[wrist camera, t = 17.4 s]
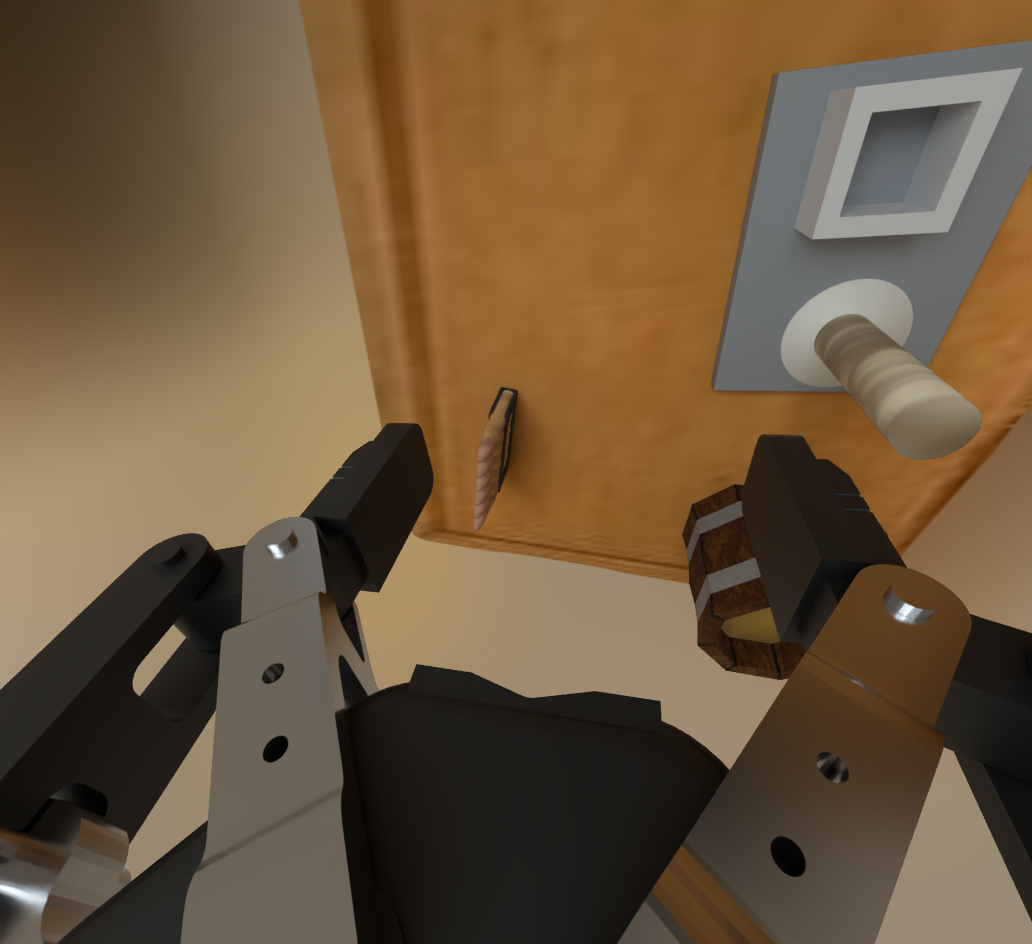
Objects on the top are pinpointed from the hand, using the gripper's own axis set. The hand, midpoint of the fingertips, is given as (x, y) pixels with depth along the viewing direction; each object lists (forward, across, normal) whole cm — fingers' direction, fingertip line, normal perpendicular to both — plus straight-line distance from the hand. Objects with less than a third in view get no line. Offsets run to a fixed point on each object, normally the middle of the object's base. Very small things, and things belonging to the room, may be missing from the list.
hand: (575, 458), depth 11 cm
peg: (+30, -19, +9) cm, 37 cm away
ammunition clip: (+32, +11, +20) cm, 40 cm away
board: (+32, -18, +3) cm, 37 cm away
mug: (+32, -18, +30) cm, 48 cm away
